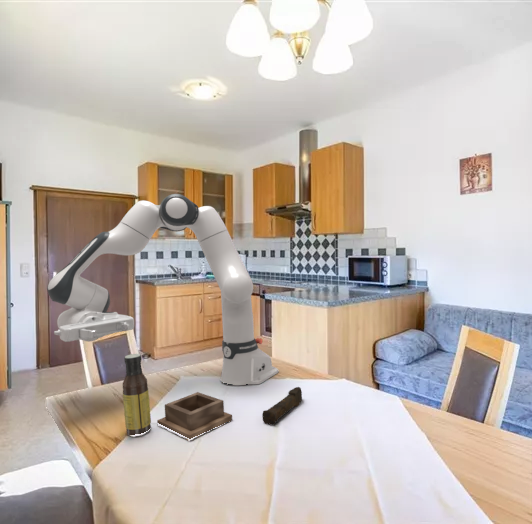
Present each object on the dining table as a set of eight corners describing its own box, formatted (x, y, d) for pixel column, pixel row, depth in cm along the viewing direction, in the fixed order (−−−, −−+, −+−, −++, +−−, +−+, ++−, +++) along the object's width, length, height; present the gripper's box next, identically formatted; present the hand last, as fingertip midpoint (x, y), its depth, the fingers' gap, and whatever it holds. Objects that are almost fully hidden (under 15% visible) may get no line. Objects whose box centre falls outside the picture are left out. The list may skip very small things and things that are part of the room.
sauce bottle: (148, 424, 100) (144, 350, 99) (153, 433, 94) (149, 355, 94) (123, 430, 96) (119, 354, 96) (127, 440, 91) (123, 360, 91)
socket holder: (199, 407, 109) (198, 389, 109) (232, 420, 100) (231, 400, 100) (157, 425, 98) (156, 405, 98) (190, 441, 89) (189, 418, 89)
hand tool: (274, 427, 95) (274, 409, 95) (261, 424, 97) (261, 406, 97) (309, 402, 111) (309, 386, 110) (298, 399, 113) (297, 384, 113)
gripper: (50, 321, 104) (70, 325, 95) (120, 311, 120) (143, 314, 110) (51, 343, 104) (72, 350, 95) (121, 330, 120) (144, 335, 111)
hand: (110, 330), depth 103 cm, fingers open, 8 cm apart
